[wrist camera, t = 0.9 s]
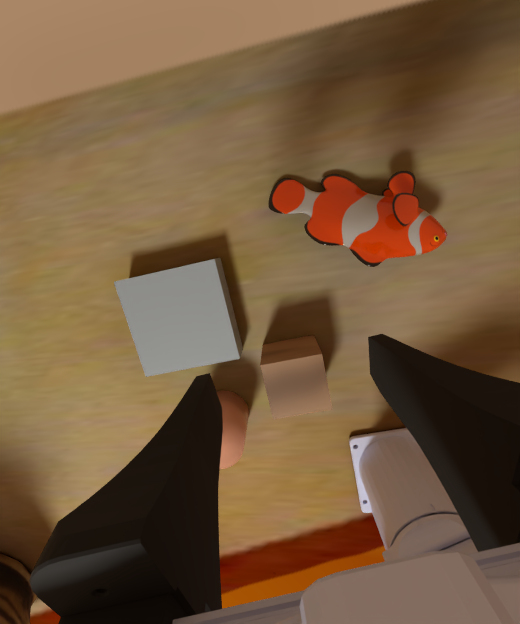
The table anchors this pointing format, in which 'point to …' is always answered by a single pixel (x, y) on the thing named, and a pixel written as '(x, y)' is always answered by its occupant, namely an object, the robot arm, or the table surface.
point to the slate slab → (181, 317)
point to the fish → (363, 217)
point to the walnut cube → (295, 377)
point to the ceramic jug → (14, 592)
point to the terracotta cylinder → (232, 427)
